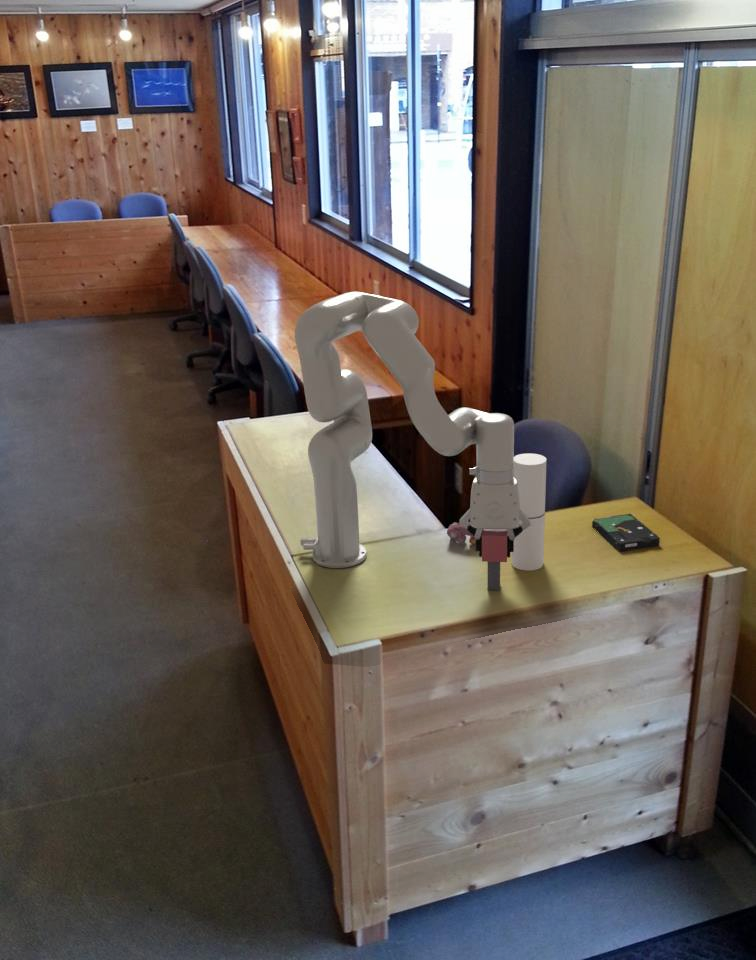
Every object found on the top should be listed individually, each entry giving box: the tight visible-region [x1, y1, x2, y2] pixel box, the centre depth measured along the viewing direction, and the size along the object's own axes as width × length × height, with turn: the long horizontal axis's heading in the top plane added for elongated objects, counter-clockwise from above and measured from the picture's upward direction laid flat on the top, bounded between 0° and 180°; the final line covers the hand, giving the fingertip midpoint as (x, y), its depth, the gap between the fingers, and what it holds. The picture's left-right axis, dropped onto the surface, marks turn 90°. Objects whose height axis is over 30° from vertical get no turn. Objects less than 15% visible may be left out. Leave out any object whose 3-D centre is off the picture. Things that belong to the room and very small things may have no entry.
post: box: [487, 562, 501, 591], centre depth 198 cm, size 3×3×7 cm
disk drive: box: [591, 513, 661, 553], centre depth 220 cm, size 10×3×15 cm
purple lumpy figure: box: [446, 521, 476, 546], centre depth 219 cm, size 10×5×7 cm, turn 71°
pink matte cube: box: [481, 529, 508, 563], centre depth 195 cm, size 5×5×6 cm
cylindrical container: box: [510, 453, 547, 572], centre depth 205 cm, size 7×7×25 cm
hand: (494, 553), depth 196 cm, fingers closed on pink matte cube, 5 cm apart
